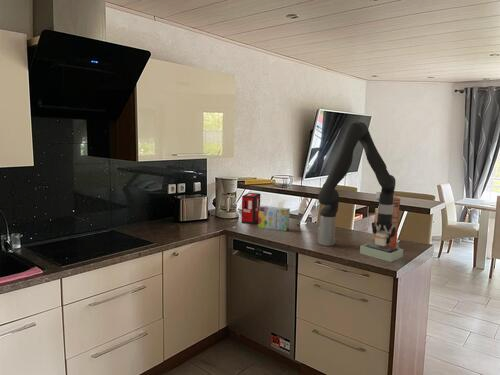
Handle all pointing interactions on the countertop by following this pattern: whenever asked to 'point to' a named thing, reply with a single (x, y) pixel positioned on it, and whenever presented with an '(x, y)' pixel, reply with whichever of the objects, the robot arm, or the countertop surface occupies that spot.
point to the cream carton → (381, 238)
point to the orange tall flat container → (394, 217)
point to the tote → (381, 253)
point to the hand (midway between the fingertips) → (382, 243)
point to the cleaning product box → (250, 208)
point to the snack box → (274, 218)
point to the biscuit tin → (383, 248)
